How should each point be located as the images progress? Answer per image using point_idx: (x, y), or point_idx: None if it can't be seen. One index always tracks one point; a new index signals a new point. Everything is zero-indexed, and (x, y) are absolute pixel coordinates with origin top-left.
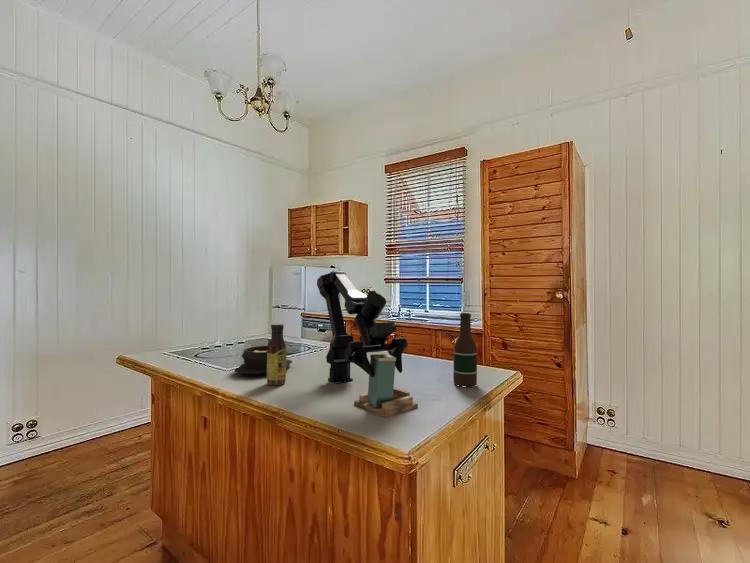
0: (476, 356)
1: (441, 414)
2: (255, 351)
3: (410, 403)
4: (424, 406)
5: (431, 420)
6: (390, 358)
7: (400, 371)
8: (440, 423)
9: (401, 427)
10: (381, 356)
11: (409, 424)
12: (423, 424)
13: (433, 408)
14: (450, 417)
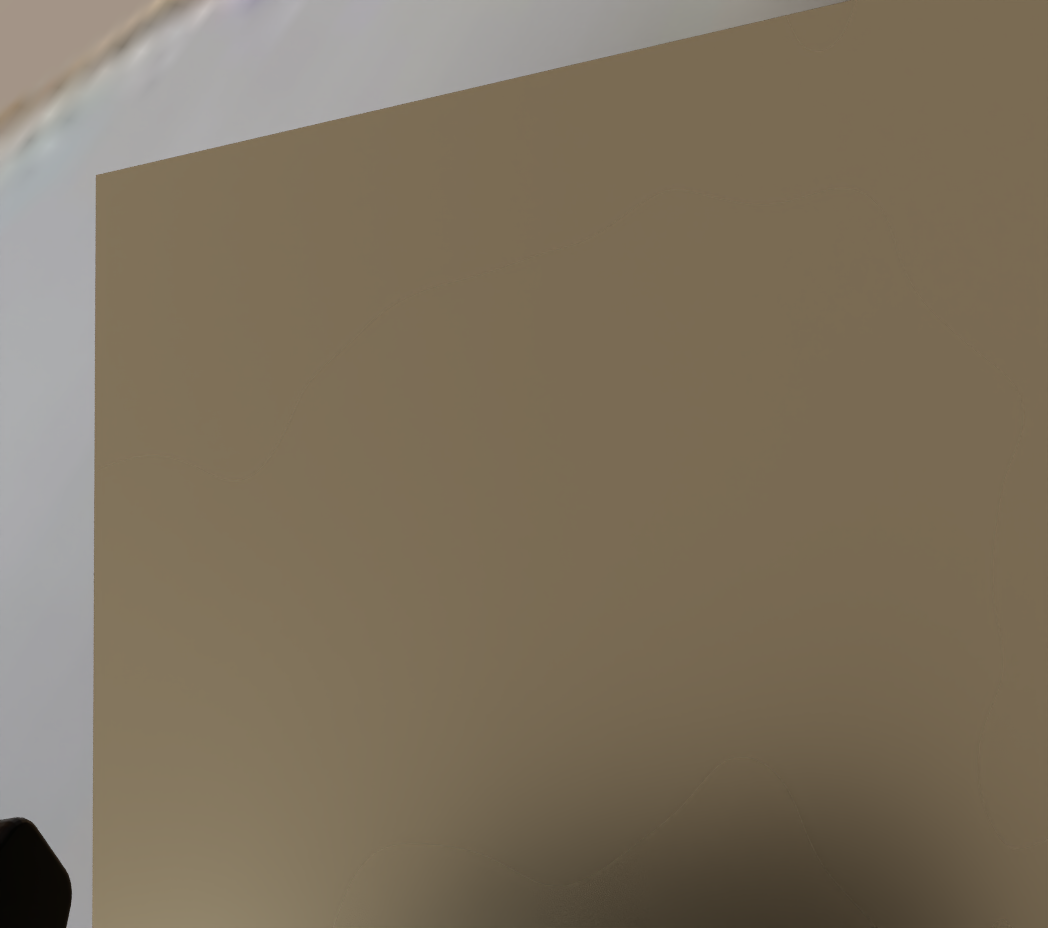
0: None
1: (73, 243)
2: None
3: None
4: (89, 570)
5: (284, 109)
6: (490, 114)
7: (41, 856)
8: (244, 14)
9: (701, 8)
10: (1040, 531)
11: (576, 63)
12: (428, 29)
13: (31, 459)
14: (43, 136)
